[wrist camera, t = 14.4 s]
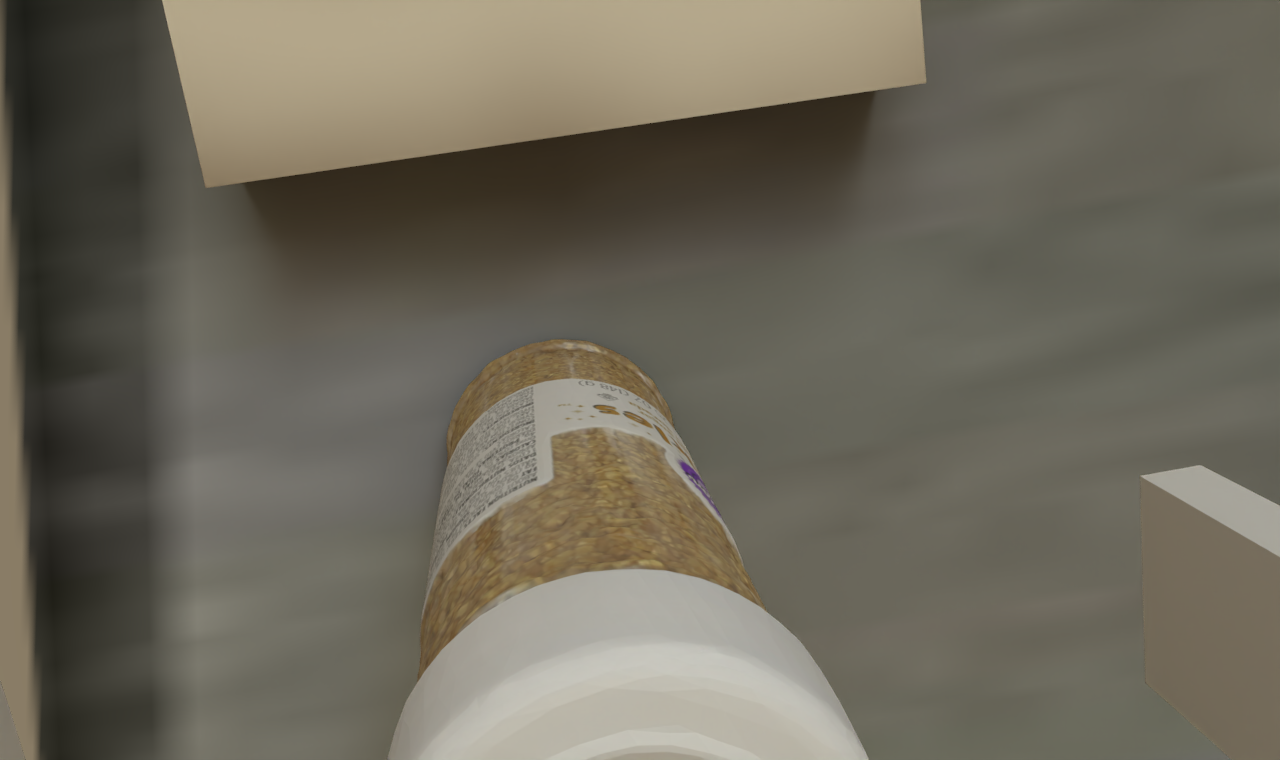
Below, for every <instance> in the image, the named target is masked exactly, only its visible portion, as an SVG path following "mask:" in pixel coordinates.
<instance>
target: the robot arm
mask: <svg viewBox="0 0 1280 760" xmlns="http://www.w3.org/2000/svg"><path fill="white" fill-rule="evenodd" d="M1140 498H1141V536H1142V575H1143V614H1144V652H1145V683H1146V684H1148V685H1149V686H1150V687H1151V688H1152V689H1153V690H1154V691H1155V692H1157V693H1158V694H1159V695H1160V696H1161V697H1162V698H1163V699H1164V700H1165V701H1167V702H1168V703H1169V704H1170V705H1171V706H1172V707H1173V708H1174V709H1176V710H1177V711H1178V712H1179V713H1180V714H1181V715H1182V716H1183V717H1185V718H1186V719H1187V720H1188V721H1189V722H1190V723H1191V724H1192V725H1193V726H1195V727H1196V728H1197V729H1198V730H1199V731H1200V732H1201V733H1202V734H1204V735H1205V736H1206V737H1207V738H1208V739H1209V740H1210V741H1211V742H1213V743H1214V744H1215V745H1216V746H1217V747H1218V748H1219V749H1220V750H1221V751H1223V752H1224V753H1225V754H1226V755H1227V756H1228V757H1229V758H1230V759H1232V760H1280V506H1279V505H1277V504H1275V503H1273V502H1271V501H1270V500H1268V499H1266V498H1264V497H1262V496H1260V495H1258V494H1256V493H1254V492H1252V491H1250V490H1248V489H1246V488H1244V487H1242V486H1240V485H1238V484H1236V483H1234V482H1233V481H1231V480H1229V479H1227V478H1225V477H1223V476H1221V475H1219V474H1217V473H1215V472H1213V471H1211V470H1209V469H1207V468H1205V467H1203V466H1201V465H1198V466H1193V467H1187V468H1182V469H1176V470H1170V471H1165V472H1159V473H1154V474H1148V475H1143V476H1140ZM0 760H25V757H24V754H23V750H22V748H21V744H20V741H19V737H18V734H17V731H16V728H15V725H14V722H13V718H12V715H11V712H10V709H9V706H8V703H7V699H6V696H5V693H4V690H3V687H2V684H1V681H0Z"/></svg>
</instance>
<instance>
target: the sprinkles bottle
mask: <svg viewBox="0 0 1280 760" xmlns="http://www.w3.org/2000/svg"><path fill="white" fill-rule="evenodd" d="M447 452H448V459H447V470H446V473H445V477H444V481H443V486H442V491H441V497H440V503H439V508H438V514H437V520H436V527H435V535H434V541H433V547H432V553H431V560H430V566H429V573H428V579H427V586H426V592H425V598H424V604H423V610H422V619H421V629H420V645H421V658H420V669H419V673H418V680H417V684H416V686H415V687H414V689H413V691H412V692H411V694H410V695H409V697H408V699H407V700H406V703H405V705H404V708H403V711H402V713H401V716H400V719H399V721H398V724H397V726H396V729H395V732H394V736H393V739H392V743H391V747H390V750H389V754H388V759H387V760H869V759H868V757H867V754H866V752H865V750H864V748H863V746H862V744H861V742H860V740H859V738H858V736H857V734H856V732H855V730H854V728H853V726H852V724H851V722H850V721H849V719H848V717H847V715H846V713H845V711H844V709H843V707H842V705H841V703H840V701H839V699H838V698H837V696H836V694H835V693H834V691H833V689H832V688H831V686H830V684H829V683H828V681H827V679H826V678H825V676H824V674H823V673H822V671H821V669H820V668H819V666H818V665H817V664H816V662H815V661H814V660H813V658H812V657H811V655H810V654H809V653H808V651H807V650H806V649H805V647H804V646H803V644H802V643H801V642H800V641H799V640H798V639H797V638H796V637H795V636H794V635H793V634H792V633H791V632H790V631H789V630H788V629H786V628H785V627H784V626H783V625H782V624H781V623H780V622H779V621H777V620H776V619H775V618H774V617H772V616H771V615H770V614H769V613H767V611H766V609H765V607H764V605H763V603H762V601H761V599H760V597H759V595H758V593H757V591H756V589H755V587H754V586H753V584H752V582H751V579H750V577H749V575H748V574H747V572H746V571H745V569H744V565H743V561H742V558H741V555H740V553H739V550H738V548H737V546H736V543H735V541H734V539H733V537H732V535H731V533H730V531H729V530H728V528H727V526H726V525H725V523H724V521H723V519H722V517H721V515H720V513H719V511H718V510H717V508H716V506H715V504H714V502H713V500H712V498H711V496H710V494H709V492H708V491H707V489H706V487H705V485H704V483H703V481H702V479H701V477H700V474H699V472H698V470H697V468H696V466H695V464H694V462H693V460H692V458H691V456H690V454H689V452H688V450H687V448H686V447H685V445H684V443H683V441H682V439H681V438H680V436H679V435H678V433H677V432H676V431H675V428H674V424H673V420H672V416H671V412H670V409H669V407H668V405H667V403H666V401H665V400H664V398H663V397H662V395H661V394H660V392H659V391H658V389H657V387H656V385H655V383H654V382H653V381H652V380H651V378H649V377H648V376H647V375H646V374H645V373H644V372H643V371H642V370H641V369H640V368H639V367H638V366H636V365H635V364H634V363H632V362H631V361H630V360H629V359H627V358H626V357H624V356H622V355H620V354H618V353H616V352H614V351H612V350H610V349H607V348H605V347H602V346H600V345H597V344H594V343H591V342H588V341H579V340H565V339H555V340H549V341H545V342H540V343H533V344H529V345H526V346H523V347H521V348H519V349H516V350H513V351H511V352H509V353H507V354H506V355H504V356H502V357H500V358H498V359H496V360H494V361H492V362H490V363H489V364H488V365H487V366H486V367H485V368H484V369H483V370H482V372H481V373H480V374H479V375H478V377H476V378H475V379H474V380H473V381H472V382H471V383H470V384H469V385H468V387H467V388H466V390H465V391H464V393H463V395H462V396H461V398H460V400H459V401H458V403H457V405H456V407H455V409H454V412H453V415H452V419H451V422H450V425H449V429H448V433H447Z"/></svg>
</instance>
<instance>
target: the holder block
mask: <svg viewBox="0 0 1280 760" xmlns="http://www.w3.org/2000/svg"><path fill="white" fill-rule="evenodd" d="M162 2H163V6H164V11H165V15H166V19H167V23H168V28H169V32H170V36H171V41H172V45H173V49H174V53H175V58H176V62H177V66H178V71H179V75H180V79H181V84H182V88H183V92H184V96H185V101H186V105H187V109H188V114H189V118H190V122H191V126H192V131H193V135H194V139H195V144H196V148H197V152H198V157H199V161H200V165H201V169H202V174H203V178H204V182H205V187H206V188H209V187H216V186H223V185H230V184H237V183H244V182H250V181H257V180H264V179H271V178H278V177H285V176H292V175H298V174H305V173H312V172H319V171H326V170H333V169H340V168H346V167H353V166H360V165H367V164H374V163H381V162H388V161H394V160H401V159H408V158H415V157H422V156H429V155H436V154H442V153H449V152H456V151H463V150H470V149H477V148H484V147H490V146H497V145H504V144H511V143H518V142H525V141H532V140H538V139H545V138H552V137H559V136H566V135H573V134H580V133H586V132H593V131H600V130H607V129H614V128H621V127H628V126H634V125H641V124H648V123H655V122H662V121H669V120H676V119H682V118H689V117H696V116H703V115H710V114H717V113H724V112H730V111H737V110H744V109H751V108H758V107H765V106H771V105H778V104H785V103H792V102H799V101H806V100H813V99H819V98H826V97H833V96H840V95H847V94H854V93H861V92H867V91H874V90H881V89H888V88H895V87H902V86H909V85H915V84H922V83H926V72H925V58H924V45H923V31H922V17H921V3H920V0H162Z"/></svg>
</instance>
